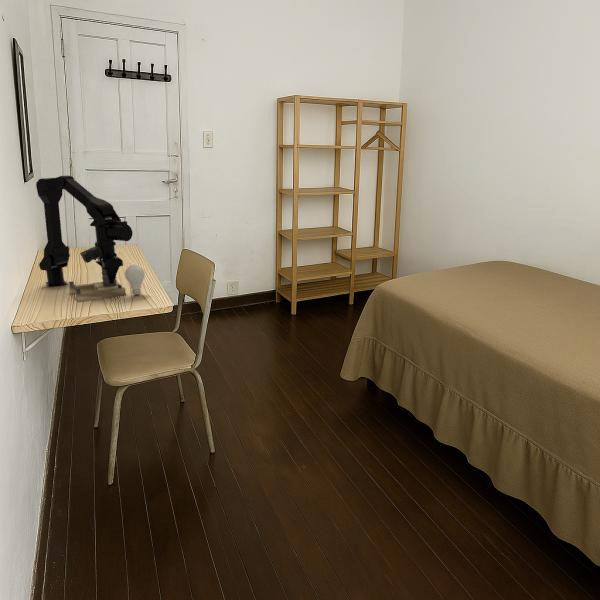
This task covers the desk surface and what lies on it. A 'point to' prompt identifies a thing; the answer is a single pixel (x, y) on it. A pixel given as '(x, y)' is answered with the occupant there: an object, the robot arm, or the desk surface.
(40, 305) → the desk surface
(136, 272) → the light bulb
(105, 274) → the stacked grey discs
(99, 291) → the wooden handle frame
